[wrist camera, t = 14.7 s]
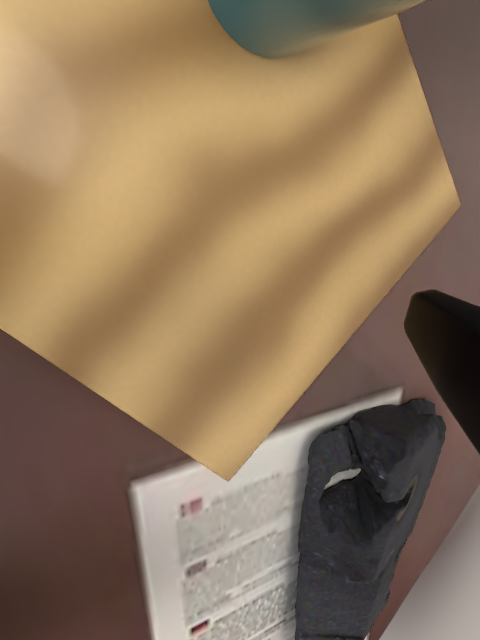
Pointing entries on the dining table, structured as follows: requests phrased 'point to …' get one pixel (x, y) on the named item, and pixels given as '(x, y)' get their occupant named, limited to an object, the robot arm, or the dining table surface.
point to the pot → (299, 21)
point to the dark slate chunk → (361, 515)
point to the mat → (204, 207)
